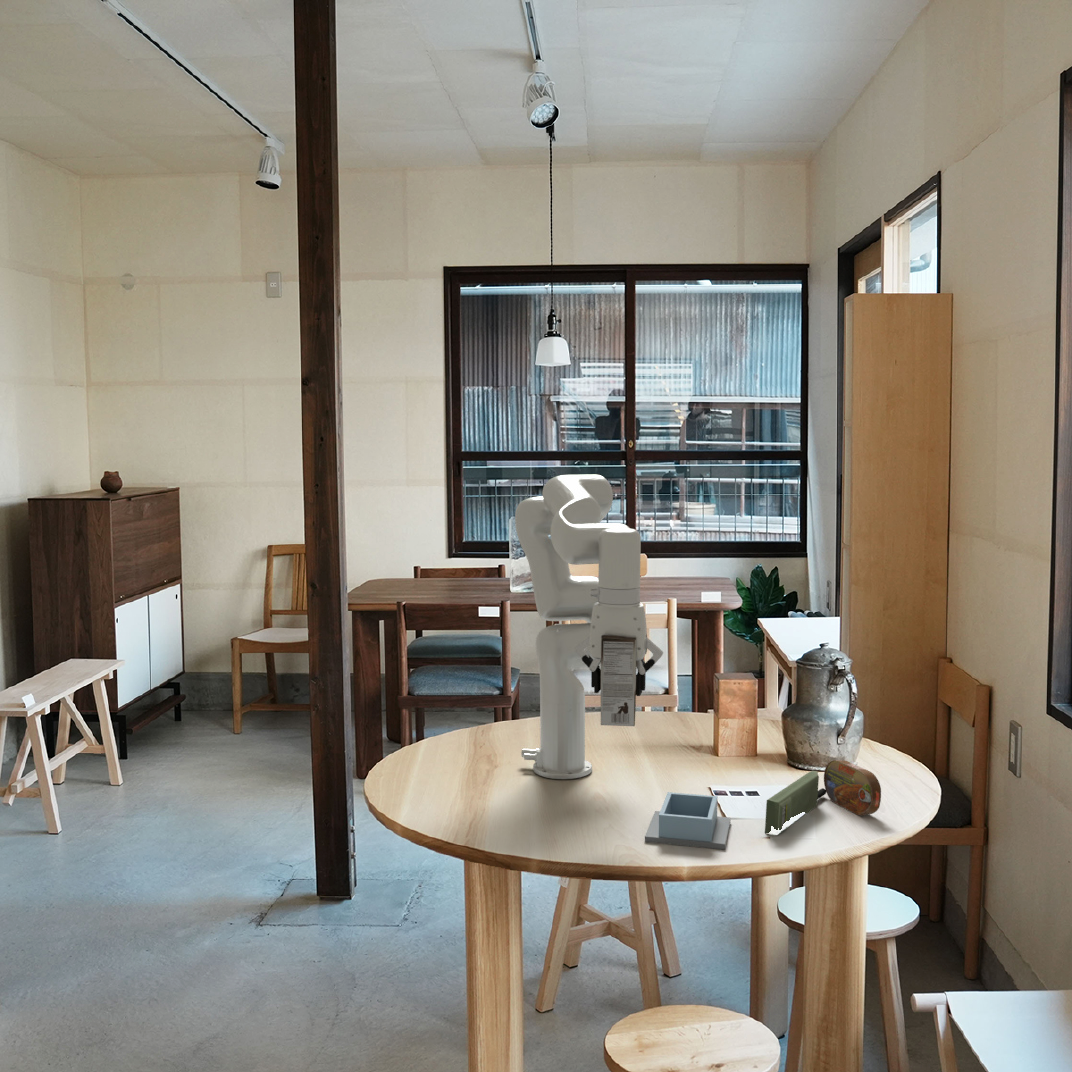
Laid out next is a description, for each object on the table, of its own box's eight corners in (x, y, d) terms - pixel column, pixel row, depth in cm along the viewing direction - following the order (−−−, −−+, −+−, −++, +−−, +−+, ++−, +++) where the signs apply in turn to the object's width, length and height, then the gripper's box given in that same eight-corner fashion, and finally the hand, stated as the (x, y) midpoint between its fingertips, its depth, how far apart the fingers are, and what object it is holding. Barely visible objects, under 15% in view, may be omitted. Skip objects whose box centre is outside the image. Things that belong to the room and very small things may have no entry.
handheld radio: (761, 833, 189) (814, 795, 209) (778, 838, 187) (830, 799, 207) (763, 798, 188) (816, 763, 208) (780, 802, 186) (832, 766, 206)
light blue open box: (644, 841, 184) (644, 814, 184) (655, 816, 197) (655, 790, 196) (725, 849, 181) (725, 821, 180) (730, 822, 193) (730, 796, 193)
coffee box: (601, 711, 196) (601, 627, 194) (635, 712, 195) (636, 627, 194) (599, 725, 187) (600, 637, 185) (635, 726, 186) (636, 637, 185)
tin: (821, 796, 208) (823, 754, 207) (835, 794, 209) (836, 753, 208) (869, 822, 194) (870, 778, 193) (883, 820, 195) (884, 776, 194)
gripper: (567, 597, 187) (567, 694, 189) (664, 602, 183) (663, 701, 185) (576, 591, 195) (576, 685, 196) (669, 595, 190) (668, 691, 192)
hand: (618, 692), depth 191 cm, fingers closed on coffee box, 7 cm apart
